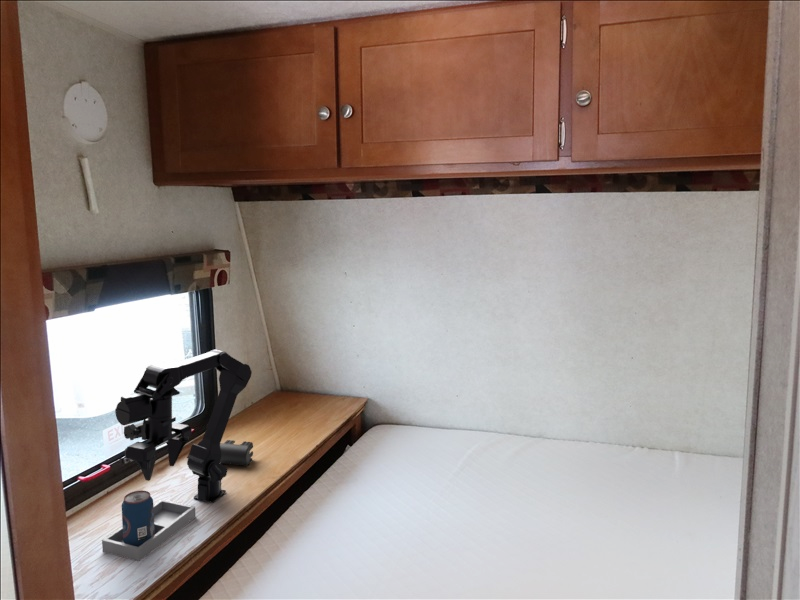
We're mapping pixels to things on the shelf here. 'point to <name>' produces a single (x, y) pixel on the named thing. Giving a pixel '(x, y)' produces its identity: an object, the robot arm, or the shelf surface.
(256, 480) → the shelf surface
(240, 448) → the end cap
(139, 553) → the can carrier
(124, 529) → the soda can
